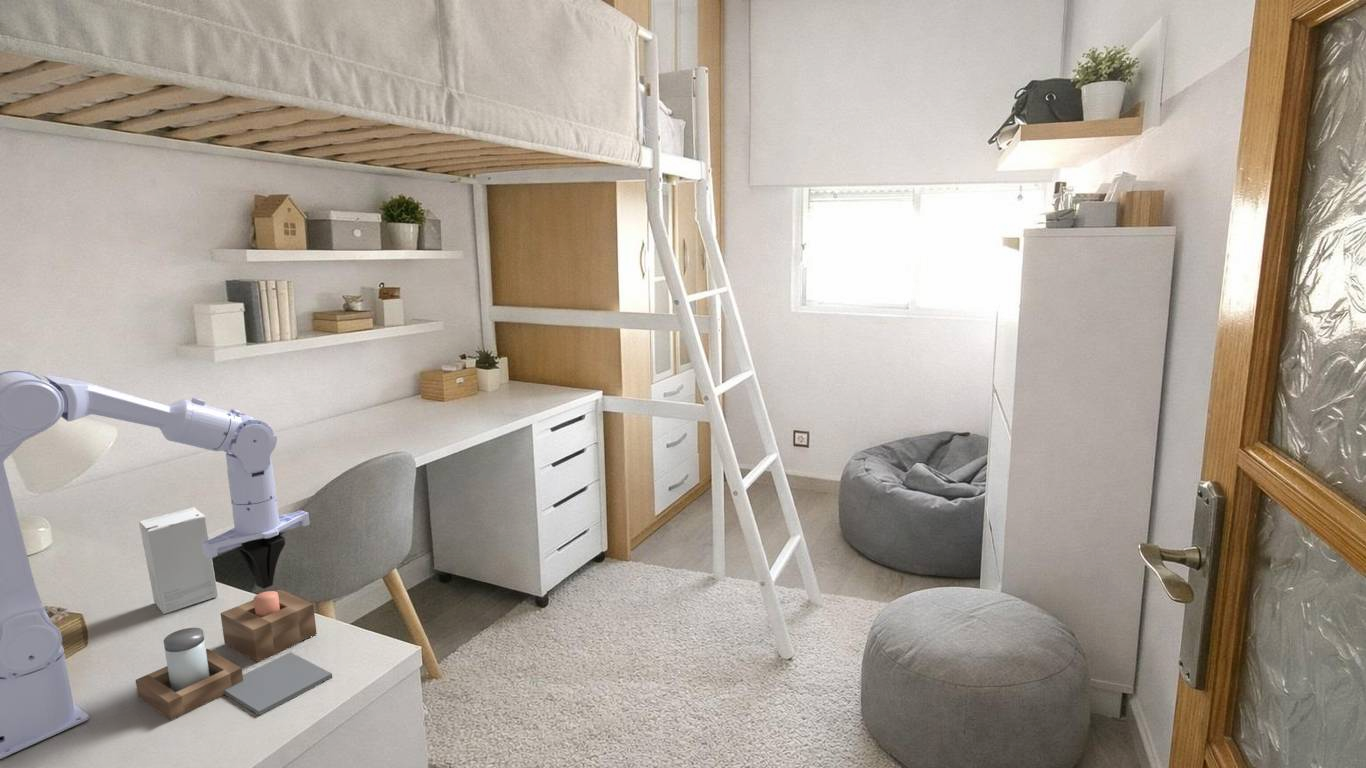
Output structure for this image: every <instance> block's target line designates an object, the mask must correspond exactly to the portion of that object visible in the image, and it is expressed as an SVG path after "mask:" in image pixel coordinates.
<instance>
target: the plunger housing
mask: <svg viewBox="0 0 1366 768" xmlns="http://www.w3.org/2000/svg"><path fill="white" fill-rule="evenodd" d="M274 591H275V592H277V593H278V598H279V606H280V610H279V611H276V612H274V613H272V614H269V615H267V616H264V617H262V618H261V617H259V616H257V615H256V614H255V606H254V599H252V600H250V601H248V602H245V603H242V604H239V605H237V606H235V607H232V608H229V609H227V610H225V611H222V612H220V613H219V615H220V619H221V620H220V621H221V627H222V629H221V630H222V634H223V635H222V636H223V641H224V645H225V646H227V647H229V648H231V649H233V650H234V651H236V652H238V653H240V654H242V655H244V656H245V657H247V658H249V659H250V660H253V661H254V662H257V663H258V662H261V661H263V660H265V659H267V658H269V657H271V656H273V655H276V654H278V653H280V652H282V651H284V650H286V649H288V648H291V647H293V646H295V645H297V644H299V643H301V642H300V641H302V640H304V639H306V640H308V639H310V638H312V637H314V636H316V635H315V634H317V625H316V616H315V615H316V614H315V607H314V603H312V602H310V601H308V600H305V599H303V598H300V597H298V596H296V595H294V594H291V593H290V592H287V591H285V590H282V589H278V590H274ZM313 635H314V636H313ZM311 636H312V637H311ZM309 637H310V638H309ZM307 638H308V639H307ZM304 641H305V640H304ZM298 642H299V643H298ZM302 642H303V641H302ZM294 644H295V645H294Z"/></svg>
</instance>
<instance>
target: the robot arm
mask: <svg viewBox="0 0 1366 768" xmlns="http://www.w3.org/2000/svg"><path fill="white" fill-rule="evenodd" d="M42 377H44V378H45V379H46V380H47V381H48V382H47V381H45V380H43V379H42V378H40V377H39V376H38V375H36V374H34V373H32V372H29V371H26V370H22V369H21V370H19V369H12V370H10V369H9V370H5V371H1V372H0V760H1V759H4V758H6V757H8V756H10V755H13V754H14V753H16V752H20V751H22V750H24V749H26V748H28V747H30V746H32V745H33V746H34V744H37V743H39V742H41V741H44V740H46V739H48V738H50V737H53V736H55V735H56V734H57V735H58V734H60V733H61V732H64V731H66V730H68V729H70V728H73V727H75V726H78V725H80V724H82V723H84V722H86V721H88V720H89V717H90V716H89V714H88V713H86V712H85V711H84V710H83V709H81V708H80V707H79V706H77V705H76V704H75V703H74V700H73V694H72V688H71V683H70V677H69V671H68V666H67V661H66V655H65V650H64V646H63V634H62V632H61V630H60V629H59V627H58V626H57V625H55V624H54V622H53V621H52V620H51V618H50V617H49V615H48V613H47V609H46V607H45V606H44V605H43V603H42V599H41V598H40V595H39V592H38V590H37V585H36V584H35V583H36V582H35V580H34V575H33V572H32V567H31V564H30V560H29V557H28V553H27V552H28V551H27V549H26V546H25V540H24V538H23V533H22V530H21V525H20V521H19V518H18V514H17V511H16V507H15V503H14V500H13V496H12V492H11V487H10V485H9V480H8V478H7V477H8V476H7V473H6V468H5V461H6V460H7V459H8V458H9V457H10V456H11V454H13V452H15V451H16V450H17V448H19V447H20V446H21V445H22V444H23V443H24V442H25V441H27V440H29V439H31V438H33V437H35V436H37V435H39V434H41V433H43V432H44V431H46V430H48V429H49V428H51V427H53V426H55V424H57V422H58V421H59V420H60V419H61V418H63V420H65V421H67V422H73V421H76V420H78V419H82V418H85V417H87V416H90V415H91V416H92V415H94V416H99V417H106V418H109V419H114V420H119V421H125V422H130V423H134V424H138V425H143V426H148V427H152V428H158V429H159V430H160V431H161V433H162V435H163V437H164V438H165V439H166V441H168V442H175V443H178V444H182V445H187V446H191V447H195V448H199V449H204V450H209V451H213V452H222V451H223V452H225V460H226V465H227V467H226V468H227V470H226V471H227V480H228V487H229V495H230V502H231V510H232V517H233V519H232V520H233V524H234V525H233V528H231V529H230V530H227V531H225V532H222V533H221V534H219V535H217V536H215V537H212V538H210V539H209V540H207V541H204V542H202V549H203V555H205V556H206V557H209V558H212V559H213V558H215V557H217V556H219V555H218V554H221V553H224V552H227V551H231V550H233V549H234V550H235V551H236V552H237V553H238V554H239V555H240V556H241V558H242V559H243V561H244V562H245V564H246V565H247V566H248V569H249V570H250V573H251V574H252V576H253V579H254V582H255V584H256V586H257V587H260V588H262V589H263V590H265V589H267V588H269V587H271V586H273V585H274V578H275V573H276V572H275V571H276V567H277V565H278V561H279V557H280V555H281V553H282V551H283V549H284V548H285V545H286V537H285V536H282V535H281V533H283V532H287V531H289V530H292V529H295V528H298V527H306V526H310V517H309V515H310V514H309V512H307V511H304V510H298V511H294V512H291V513H285V514H281V515H280V514H279V508H278V499H277V489H276V483H275V482H276V479H275V472H274V466H273V460H272V453H273V452H274V451H275V449H276V447H277V442H278V436H276V435H275V434H274V430H273V429H272V427H271V426H269V424H268V423H267V422H264V421H263V420H261V419H260V420H259V419H258V418H255V417H253V416H250V415H246V414H245V413H243V412H241V411H240V410H237V409H235V408H231V409H229V410H230V411H229V410H225V409H221V408H218V407H214V406H210V405H207V404H206V400H204V399H202V398H201V399H200V398H197V397H192V398H191V400H188V399H183V398H182V399H179V400H177V401H174V402H171V403H169V404H164V403H161V402H157V401H153V400H150V399H146V398H143V397H140V396H136V395H134V394H133V395H132V394H129V393H125V392H122V391H118V390H115V389H112V388H108V387H105V386H101V385H99V384H98V385H97V384H95V383H92V382H87V381H83V380H79V379H78V380H77V379H73V378H67V377H61V376H56V375H48V374H42Z"/></svg>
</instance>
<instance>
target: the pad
mask: <svg viewBox="0 0 1366 768" xmlns="http://www.w3.org/2000/svg"><path fill="white" fill-rule="evenodd" d="M331 677H332V678H333V673H332V672H330V671H328V670H326V669H324V668H323V667H320V666H318V665H316V664H314V663H312V662H310V661H309V660H307V659H304V658H303V657H301V656H299V655H297V654H295V653H293V652H292V651H291V652H290V651H289V652H288V653H286V654H284V655H282V656H280V657H278V658H275V659H274V660H272V661H269V662H267V663H265V664H263V665H261V666H258V667H256V668H254V669H252V670H250V671H248V672H246V673H244V674H243V681H242V682H240V683H238V684H236V685H234V686H231V687H229V688H227V689H225V690H224V693H225V694H224V695H225V696H227V697H229V698H231V699H232V700H234V701H235V702H237V703H238V704H240V705H242V706H243V707H245V708H246V709H248V710H250V711H252V712H254V714H256V715H258V716H262V715H263V714H265V713H268V712H269V711H272V710H273V709H275V708H276V707H278V706H280V705H283V704H285V703H286V702H288V701H290V700H292V699H294V698H296V697H298V696H300V695H301V694H303V693H305V692H307V691H309V690H311V689H313V688H315V687H317V686H318V685H321V684H323V683H324V682H326V681H328V680H330V679H331ZM329 678H330V679H329ZM327 679H328V680H327ZM323 681H324V682H323ZM322 682H323V683H322ZM320 683H321V684H320Z"/></svg>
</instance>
